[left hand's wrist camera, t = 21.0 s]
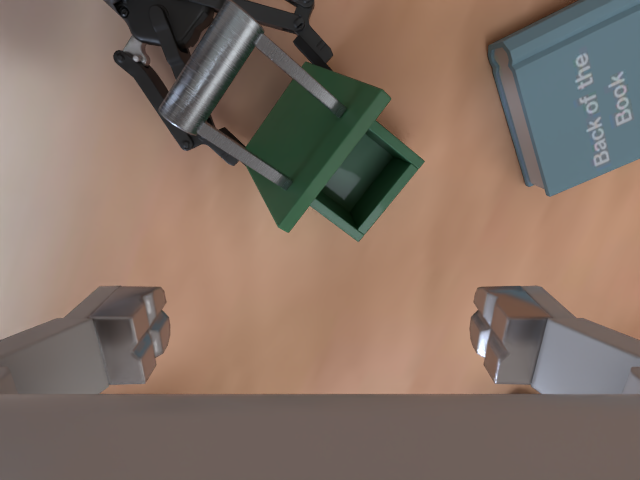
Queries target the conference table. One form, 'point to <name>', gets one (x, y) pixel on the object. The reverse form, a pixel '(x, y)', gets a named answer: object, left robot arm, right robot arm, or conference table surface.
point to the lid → (275, 114)
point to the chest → (367, 181)
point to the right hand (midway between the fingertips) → (308, 138)
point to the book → (572, 92)
